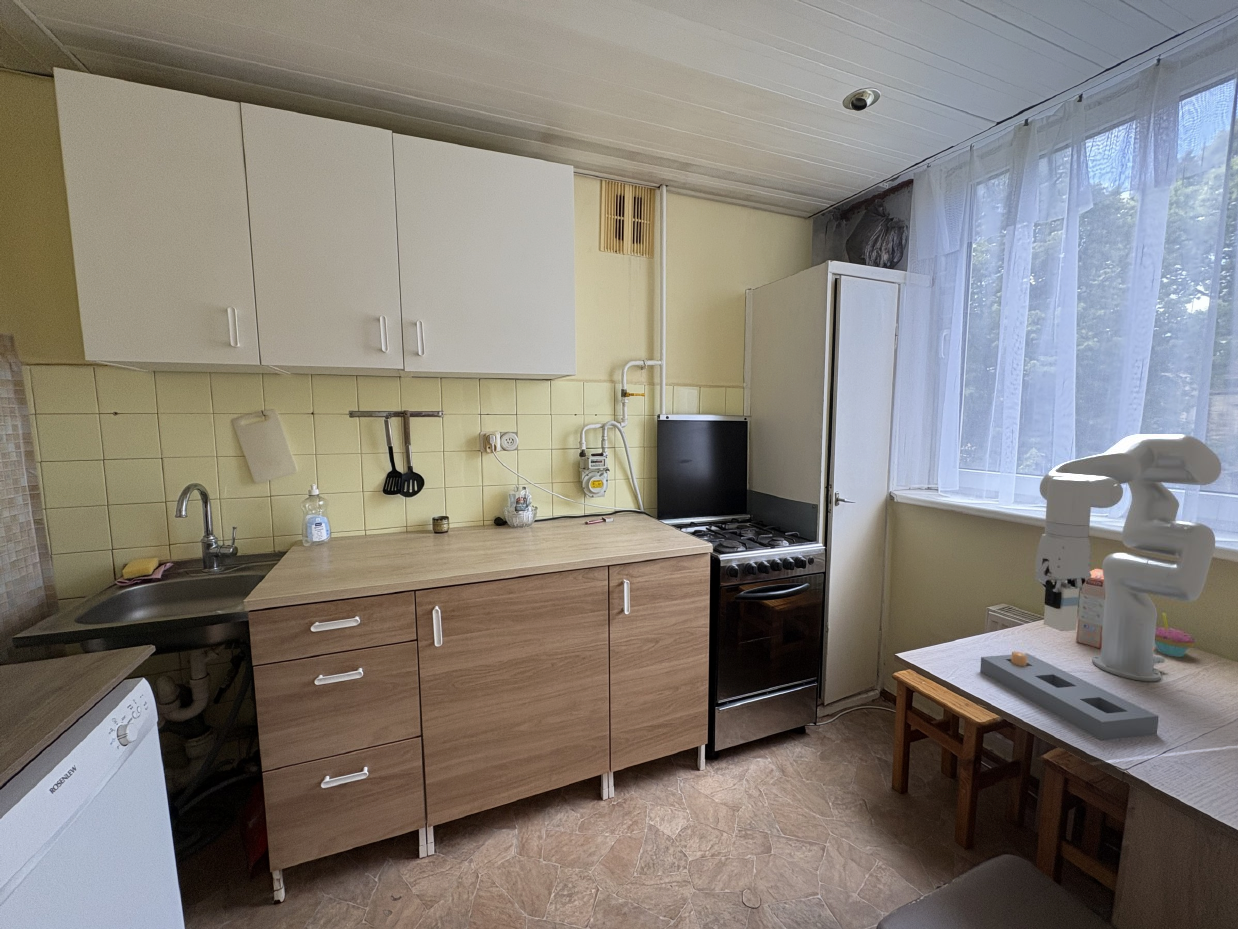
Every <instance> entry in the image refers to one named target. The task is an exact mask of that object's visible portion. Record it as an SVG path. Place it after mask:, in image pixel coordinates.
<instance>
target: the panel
mask: <svg viewBox="0 0 1238 929" xmlns="http://www.w3.org/2000/svg"><path fill="white" fill-rule="evenodd" d="M1024 654H1026V655H1027V664H1026V666H1025V667H1019V666H1017V665H1015V664H1013V663H1011V659H1012V654H1002V655H991V656H990V655H988V656H981V657H980V668H979V670H980V673H981V674H984V675H985V676H987V677H989V678H990V679H992V680H994V681H996V682H998V683H999V684H1000V685H1002V686H1004V687H1006V688H1008V689H1010V690H1012V691H1013V692H1015V693H1017V694H1018V695H1020V696H1022V697H1023V698H1025V699H1027V700H1028V701H1031V702H1033V703H1034V704H1036V705H1037V706H1040V707H1041V708H1043V709H1045V710H1046V711H1048V712H1050V713H1051V714H1053V715H1055V716H1057V717H1058V718H1061V719H1062V720H1064V721H1066V722H1067V723H1069V724H1071V725H1073V726H1075V727H1076V728H1078V729H1080V731H1083V732H1085V733H1087V734H1089V735H1090V736H1092V737H1094V738H1095V739H1097V740H1099V741H1109V740H1117V739H1119V740H1120V739H1127V738H1135V737H1137V738H1138V737H1145V736H1153V735H1154V736H1155V735H1158V726H1159V717H1160V716H1159V715H1157V714H1155V713H1153V712H1151V711H1149V710H1147V709H1145V708H1143V707H1141V706H1138V705H1136V704H1135V703H1133V702H1130V701H1128V700H1126V699H1124V698H1122V697H1120V696H1118V695H1115V694H1113V693H1111V692H1109V691H1107V690H1106V689H1103V688H1100V687H1098V686H1097V685H1094V684H1092V683H1090V682H1088V681H1087V680H1084V679H1082V678H1080V677H1078V676H1075V675H1074V674H1072V673H1069V672H1067V671H1065V670H1063V669H1061V668H1059V667H1057V666H1055V665H1053V664H1052V663H1051V664H1050V663H1048V662H1046V661H1044V660H1043V659H1040V658H1038V657H1035V656H1034V655H1031V654H1029V653H1027V652H1025V653H1024Z"/></svg>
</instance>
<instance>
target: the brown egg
mask: <svg viewBox="0 0 1238 929" xmlns="http://www.w3.org/2000/svg"><path fill="white" fill-rule="evenodd" d="M1011 655H1012V659H1011V663H1013V664H1015V665H1017V666H1019V667H1025V666H1026V664H1027V655H1026V654H1025V653H1023V652H1020V651H1012V652H1011Z"/></svg>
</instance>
